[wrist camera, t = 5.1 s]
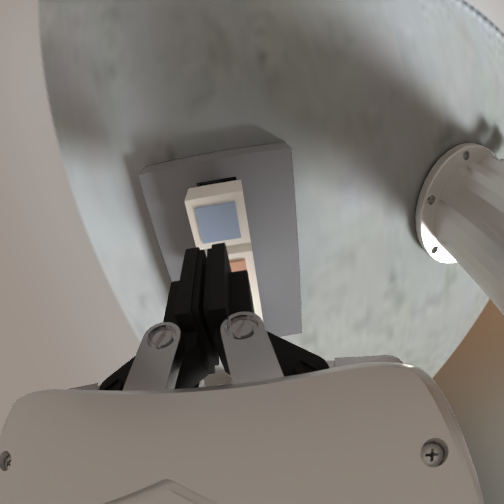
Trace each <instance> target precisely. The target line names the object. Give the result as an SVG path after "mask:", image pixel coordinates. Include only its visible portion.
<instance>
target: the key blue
mask: <svg viewBox="0 0 504 504" xmlns="http://www.w3.org/2000/svg"><path fill="white" fill-rule="evenodd" d="M184 202H185V206H186V210H187V214H188V218H189V222H190V226H191V230H192V233H193V237H194V241H195V245H196V247H199V248H200V250H203V249H209V248H212V245H213V244H218V243H224V242H225V245H226V246H229V245H236V244H242V243H248V242H251V240H250V233H249V227H248V220H247V214H246V208H245V201H244V195H243V188H242V182H241V180H235V181H228V182H222V183H216V184H211V185H205V186H200V187H194V188H189V189H188V192H187V195H186V197H185V200H184Z"/></svg>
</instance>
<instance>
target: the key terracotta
mask: <svg viewBox="0 0 504 504" xmlns="http://www.w3.org/2000/svg"><path fill="white" fill-rule="evenodd" d="M250 240H251V239H250ZM226 249H227V253H228V258H229V262H230V267H231V271H232V272H236V271H242V270H247V271H248V276H249V282H250V287H251V293H253V292H259V291H258V284H257V278H256V271H255V265H254V258H253V252H252V246H251V242H248V243H242V244H236V245H229V246H226ZM204 250H205V253H206V257H207V249H204Z"/></svg>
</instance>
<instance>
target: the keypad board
mask: <svg viewBox="0 0 504 504" xmlns="http://www.w3.org/2000/svg"><path fill="white" fill-rule="evenodd" d="M235 176H236V180H241V182H242V188H243V195H244V201H245V208H246V214H247V220H248V227H249V233H250V239H251V246H252V252H253V258H254V265H255V271H256V278H257V284H258V290H259V297H260V303H261V310H262V316H263V322H264V326H265V329H266V331H268V332H270V333H272V334H274V335H276V336H278V337H281V336H287V335H293V334H298V333H302V323H301V292H300V269H299V249H298V233H297V217H296V203H295V190H294V178H293V166H292V156H291V148H290V147H289V146H288V145H287V144H286V143H285V142H281V143H273V144H265V145H257V146H250V147H243V148H237V149H231V150H224V151H219V152H213V153H207V154H202V155H197V156H192V157H186V158H182V159H177V160H172V161H168V162H163V163H159V164H154V165H150V166H146V167H145V168H144V169H143V170H142V171H141V172H140V173H139V174H138V177H139V180H140V184H141V188H142V191H143V195H144V198H145V201H146V205H147V208H148V211H149V215H150V218H151V221H152V224H153V228H154V231H155V234H156V237H157V240H158V243H159V246H160V249H161V252H162V255H163V258H164V261H165V264H166V267H167V270H168V272H169V275H170V278H171V281H172V282H173V281H179V280H180V276H181V270H182V265H183V260H184V255H185V250H186V249H189V248H195V247H196V245H195V241H194V237H193V233H192V230H191V226H190V222H189V218H188V214H187V210H186V206H185V202H184V200H185V197H186V195H187V192H188V189H189V188H194V187H200V186H201V182H206V181H212V180H217V179H223V178H229V177H235Z"/></svg>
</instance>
